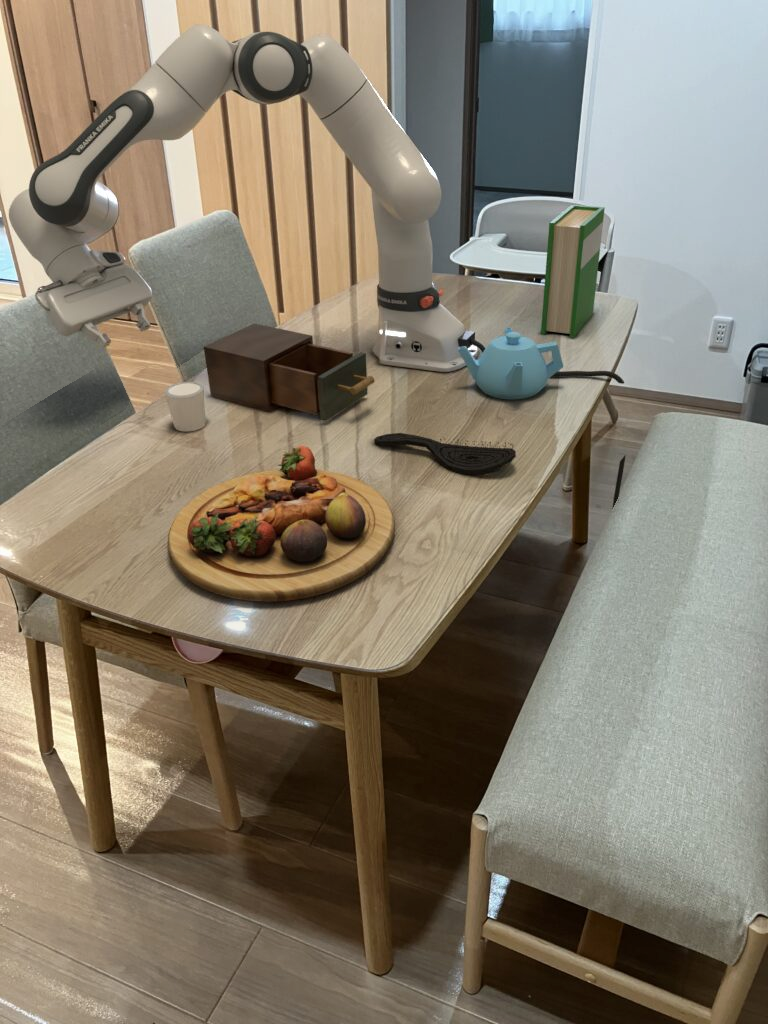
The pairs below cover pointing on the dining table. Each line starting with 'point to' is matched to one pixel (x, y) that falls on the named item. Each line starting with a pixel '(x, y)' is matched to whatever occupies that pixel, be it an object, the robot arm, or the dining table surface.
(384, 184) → the robot arm
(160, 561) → the dining table surface
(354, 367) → the drawer
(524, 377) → the teapot
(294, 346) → the cabinet
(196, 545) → the wooden plate
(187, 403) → the white cylinder
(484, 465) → the hairbrush
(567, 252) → the hardback book
